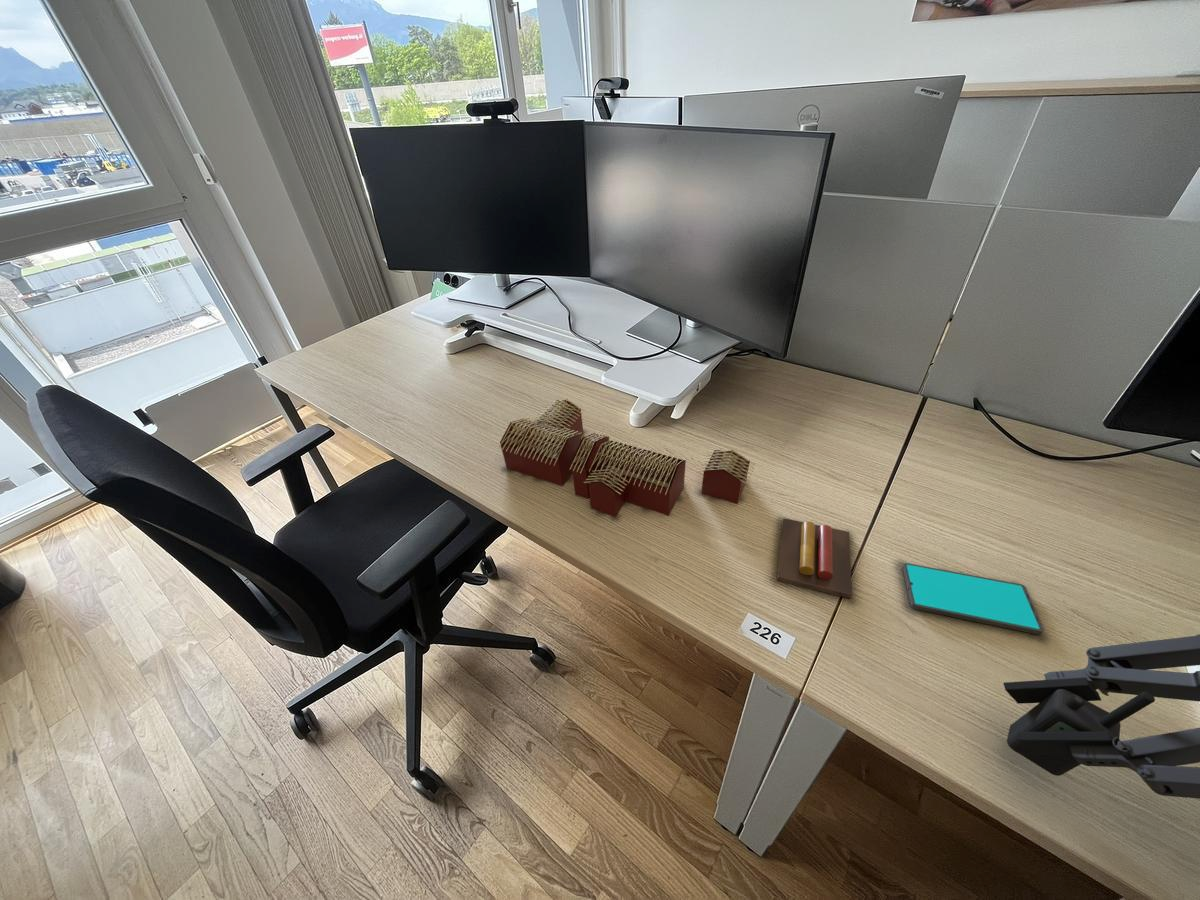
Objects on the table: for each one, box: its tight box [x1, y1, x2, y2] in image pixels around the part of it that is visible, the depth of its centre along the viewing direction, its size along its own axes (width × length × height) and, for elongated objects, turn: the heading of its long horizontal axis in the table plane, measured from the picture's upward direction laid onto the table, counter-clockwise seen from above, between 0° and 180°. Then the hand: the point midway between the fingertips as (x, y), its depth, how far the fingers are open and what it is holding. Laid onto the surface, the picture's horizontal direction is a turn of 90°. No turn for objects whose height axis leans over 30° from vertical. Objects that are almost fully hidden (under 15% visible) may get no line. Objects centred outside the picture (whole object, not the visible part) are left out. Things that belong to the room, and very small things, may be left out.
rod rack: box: [776, 517, 853, 600], centre depth 71 cm, size 10×12×3 cm
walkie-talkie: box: [1006, 689, 1156, 777], centre depth 44 cm, size 5×3×15 cm
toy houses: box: [498, 398, 756, 518], centre depth 85 cm, size 45×20×10 cm, turn 63°
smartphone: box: [902, 562, 1045, 635], centre depth 64 cm, size 7×1×15 cm
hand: (1018, 717), depth 46 cm, fingers closed on walkie-talkie, 4 cm apart
